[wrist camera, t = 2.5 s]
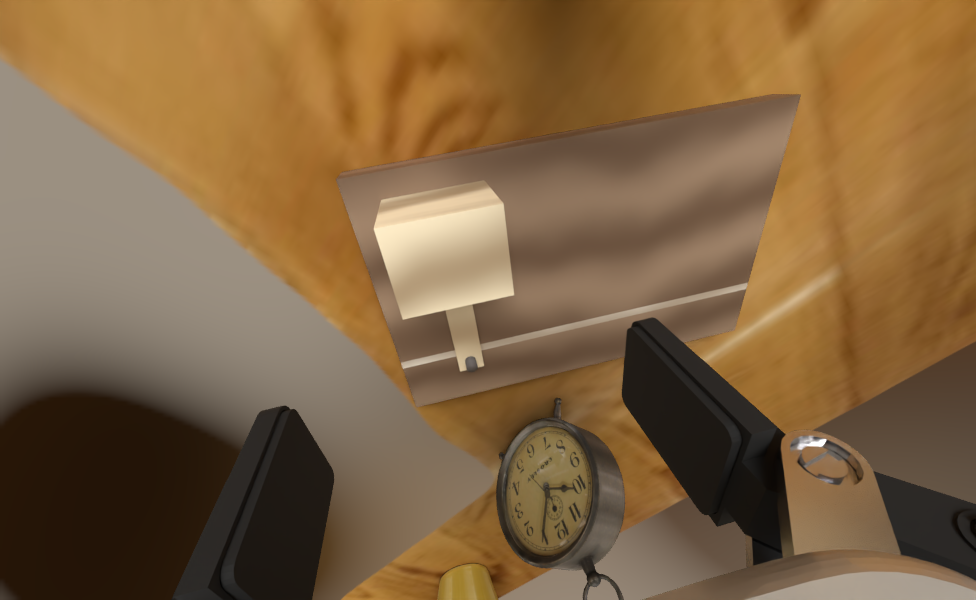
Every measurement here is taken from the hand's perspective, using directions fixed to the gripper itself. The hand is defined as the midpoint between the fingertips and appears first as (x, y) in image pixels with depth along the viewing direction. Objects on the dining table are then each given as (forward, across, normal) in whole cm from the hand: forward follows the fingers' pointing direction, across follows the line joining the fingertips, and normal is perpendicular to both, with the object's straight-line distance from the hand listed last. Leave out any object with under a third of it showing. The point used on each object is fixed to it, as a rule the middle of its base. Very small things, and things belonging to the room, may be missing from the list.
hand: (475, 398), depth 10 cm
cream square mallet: (+14, 0, +4) cm, 14 cm away
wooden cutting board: (+16, -9, +5) cm, 19 cm away
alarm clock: (+16, -5, +23) cm, 28 cm away
